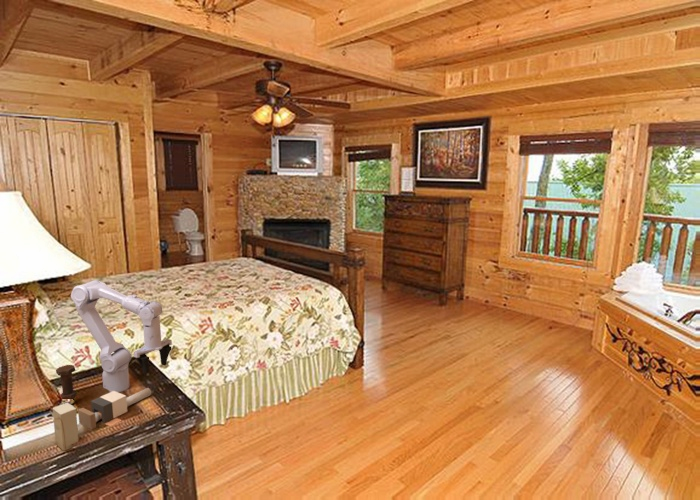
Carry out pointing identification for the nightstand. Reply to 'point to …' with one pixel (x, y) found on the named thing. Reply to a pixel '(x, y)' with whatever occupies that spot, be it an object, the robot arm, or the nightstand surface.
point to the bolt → (67, 381)
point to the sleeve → (117, 402)
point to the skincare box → (65, 425)
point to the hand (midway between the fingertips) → (155, 368)
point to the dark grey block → (103, 408)
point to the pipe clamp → (91, 418)
